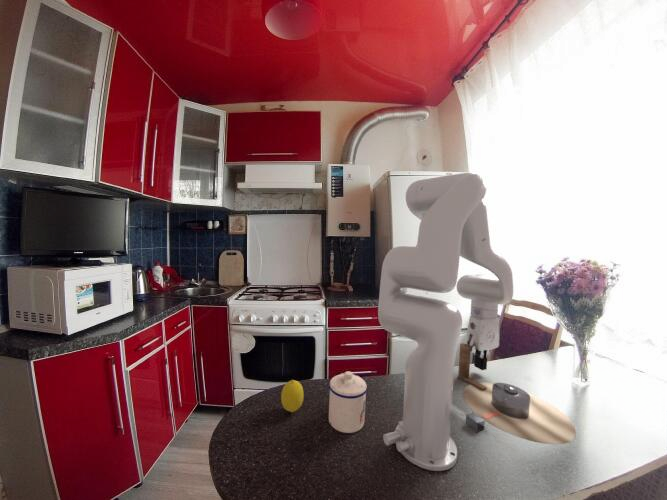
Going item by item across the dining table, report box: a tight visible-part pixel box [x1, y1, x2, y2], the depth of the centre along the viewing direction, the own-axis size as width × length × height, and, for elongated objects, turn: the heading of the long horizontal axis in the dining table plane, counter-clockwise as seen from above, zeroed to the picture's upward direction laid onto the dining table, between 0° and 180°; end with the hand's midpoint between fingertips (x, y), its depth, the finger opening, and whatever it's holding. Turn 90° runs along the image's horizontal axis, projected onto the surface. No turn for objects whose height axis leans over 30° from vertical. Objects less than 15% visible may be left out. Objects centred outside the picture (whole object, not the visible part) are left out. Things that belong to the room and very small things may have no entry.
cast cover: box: [491, 382, 530, 419], centre depth 65 cm, size 8×8×6 cm
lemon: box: [280, 379, 305, 413], centre depth 62 cm, size 6×6×8 cm
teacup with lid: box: [328, 370, 368, 434], centre depth 62 cm, size 12×9×12 cm
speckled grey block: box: [465, 411, 485, 434], centre depth 60 cm, size 2×3×2 cm
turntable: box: [457, 342, 577, 445], centre depth 67 cm, size 25×29×12 cm
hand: (480, 367), depth 82 cm, fingers closed
